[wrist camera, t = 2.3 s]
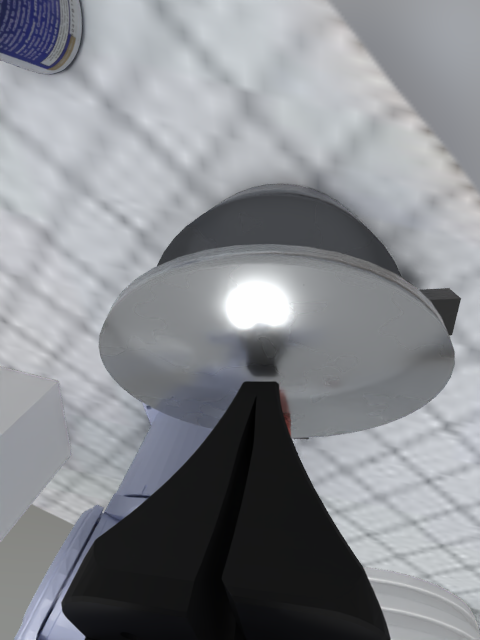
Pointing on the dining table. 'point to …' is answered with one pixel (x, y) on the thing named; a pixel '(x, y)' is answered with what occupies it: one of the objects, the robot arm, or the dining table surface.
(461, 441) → the dining table surface
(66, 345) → the dining table surface
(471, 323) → the dining table surface
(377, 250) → the cooking pot
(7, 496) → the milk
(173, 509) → the robot arm
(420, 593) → the plate stack
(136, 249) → the dining table surface
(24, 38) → the pill bottle
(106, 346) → the pot lid
